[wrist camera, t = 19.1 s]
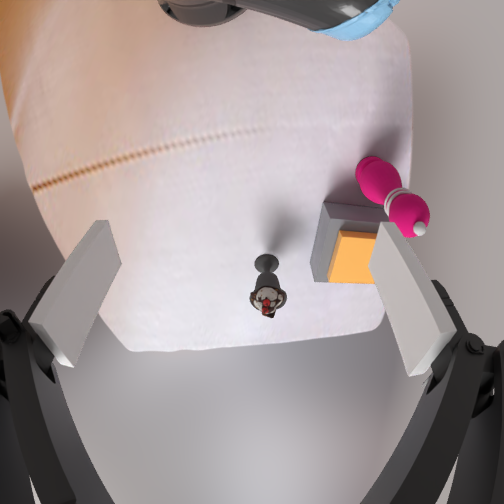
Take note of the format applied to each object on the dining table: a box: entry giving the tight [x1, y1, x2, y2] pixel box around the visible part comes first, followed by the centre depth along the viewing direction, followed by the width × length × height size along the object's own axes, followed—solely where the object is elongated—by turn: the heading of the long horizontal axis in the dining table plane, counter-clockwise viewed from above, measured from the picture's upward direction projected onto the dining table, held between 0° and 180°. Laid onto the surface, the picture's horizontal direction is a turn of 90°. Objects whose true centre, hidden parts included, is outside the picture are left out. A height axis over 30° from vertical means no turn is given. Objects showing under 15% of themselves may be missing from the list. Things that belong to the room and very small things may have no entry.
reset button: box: [327, 230, 377, 284], centre depth 52 cm, size 10×10×7 cm
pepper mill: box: [355, 156, 430, 238], centre depth 39 cm, size 7×7×20 cm
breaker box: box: [310, 202, 389, 284], centre depth 53 cm, size 14×14×6 cm
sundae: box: [250, 255, 287, 318], centre depth 54 cm, size 7×7×15 cm
